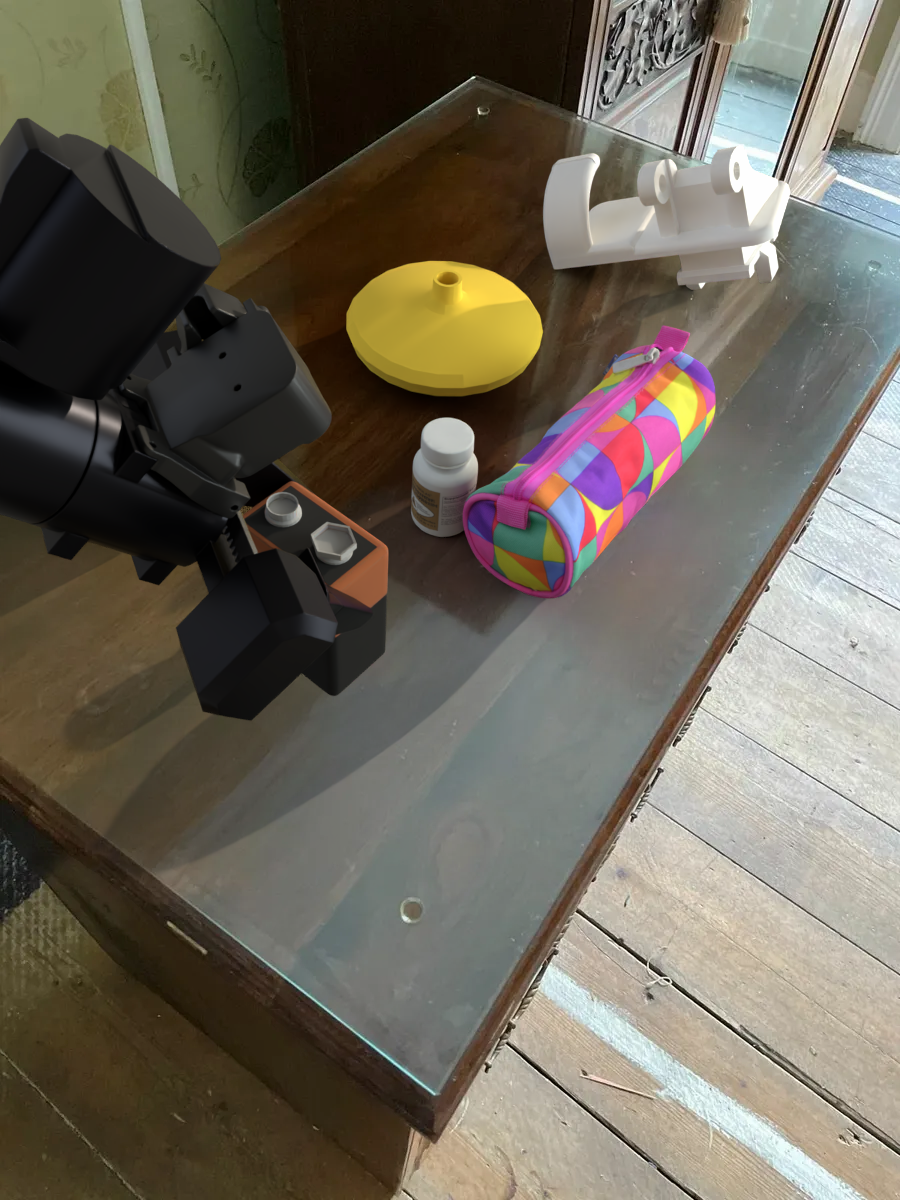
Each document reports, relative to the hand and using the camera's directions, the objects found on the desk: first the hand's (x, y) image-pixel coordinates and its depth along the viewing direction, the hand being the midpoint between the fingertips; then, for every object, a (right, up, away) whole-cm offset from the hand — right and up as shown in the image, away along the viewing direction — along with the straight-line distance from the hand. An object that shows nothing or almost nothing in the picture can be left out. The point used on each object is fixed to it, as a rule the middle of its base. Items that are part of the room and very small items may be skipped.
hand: (337, 559), depth 48 cm
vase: (+5, +18, +31) cm, 36 cm away
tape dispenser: (+24, +28, +40) cm, 54 cm away
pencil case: (+16, +5, +22) cm, 27 cm away
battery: (-2, -5, +5) cm, 7 cm away
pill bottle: (+5, +4, +20) cm, 21 cm away
